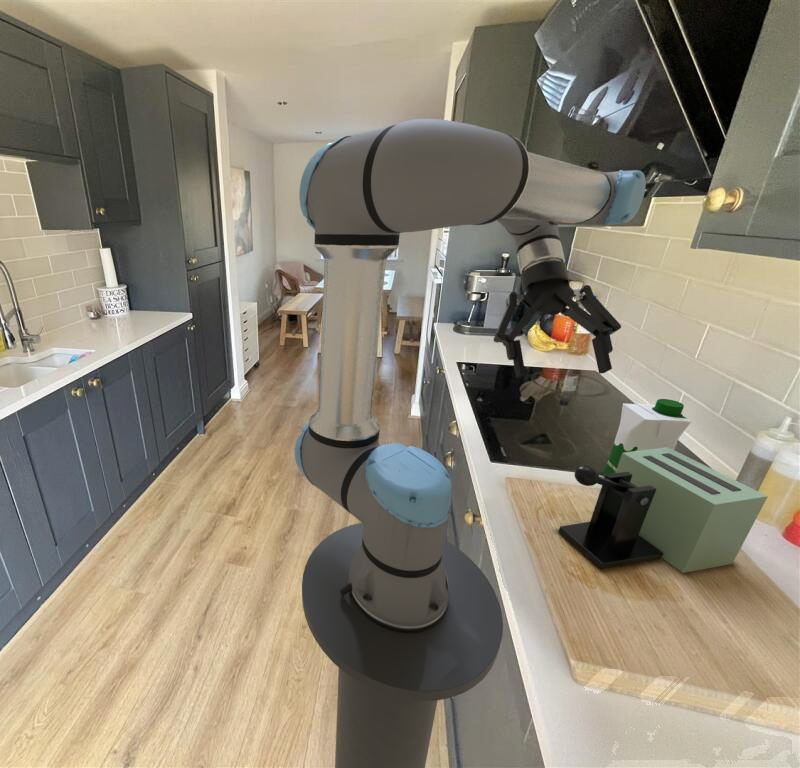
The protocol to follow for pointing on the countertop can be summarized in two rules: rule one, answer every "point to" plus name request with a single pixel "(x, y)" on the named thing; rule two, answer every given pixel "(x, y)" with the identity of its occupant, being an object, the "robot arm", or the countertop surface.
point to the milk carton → (647, 429)
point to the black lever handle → (601, 480)
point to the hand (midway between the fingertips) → (562, 373)
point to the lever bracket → (615, 527)
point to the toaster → (692, 508)
